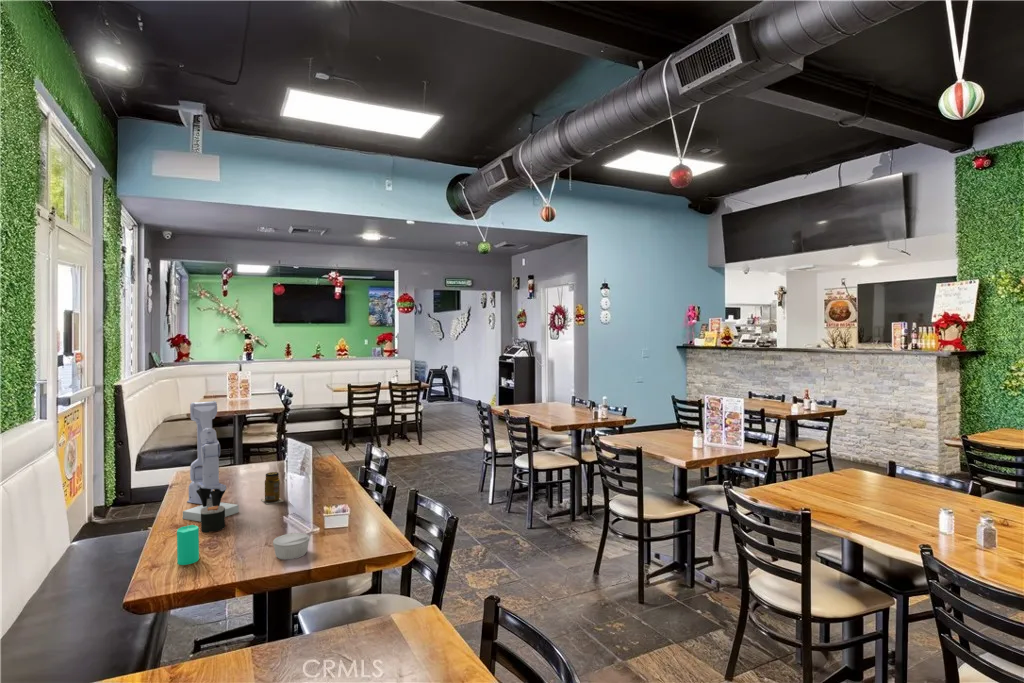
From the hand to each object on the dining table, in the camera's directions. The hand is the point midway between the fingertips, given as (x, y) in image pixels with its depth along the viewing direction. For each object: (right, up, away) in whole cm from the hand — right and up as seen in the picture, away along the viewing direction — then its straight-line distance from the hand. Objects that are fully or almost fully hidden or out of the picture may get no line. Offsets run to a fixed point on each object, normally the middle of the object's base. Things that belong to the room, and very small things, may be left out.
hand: (211, 506), depth 221 cm
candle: (+18, -4, -46) cm, 49 cm away
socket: (0, -3, 0) cm, 3 cm away
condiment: (+16, -4, +19) cm, 26 cm away
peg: (0, -3, 0) cm, 3 cm away
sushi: (+9, -4, -15) cm, 18 cm away
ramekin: (+49, -4, -41) cm, 63 cm away
